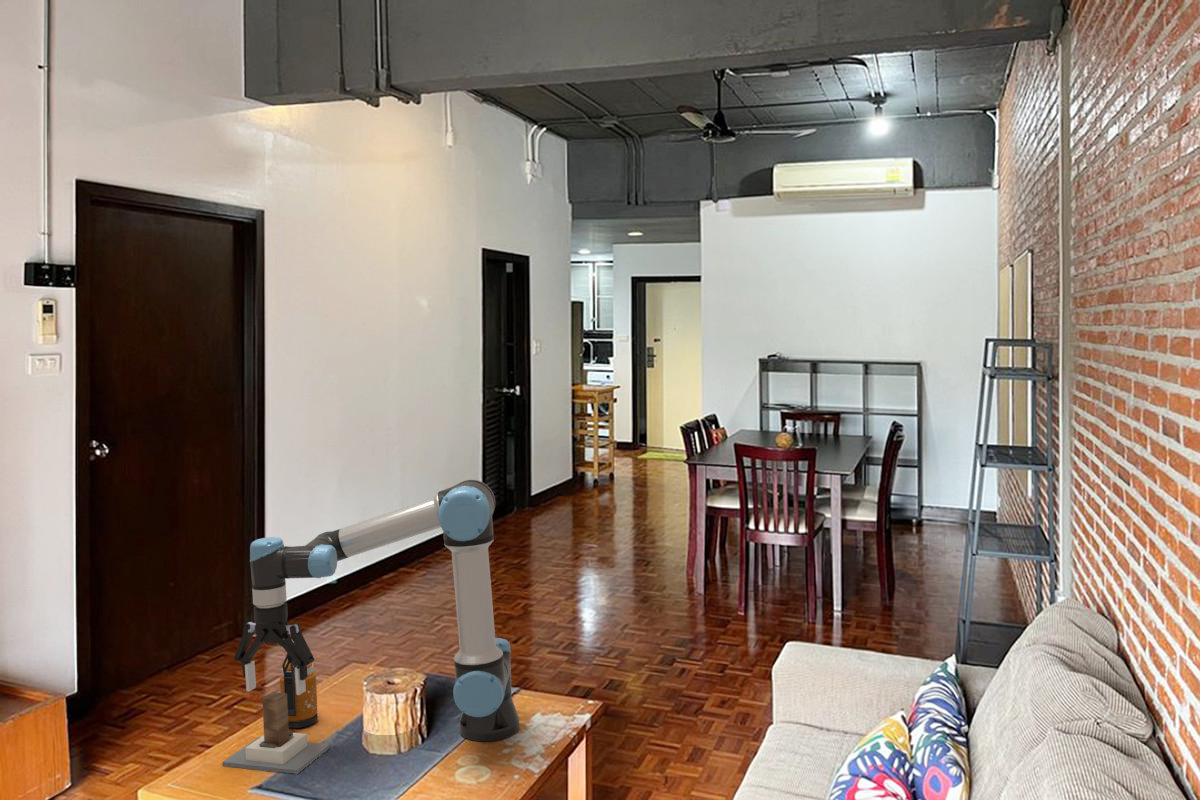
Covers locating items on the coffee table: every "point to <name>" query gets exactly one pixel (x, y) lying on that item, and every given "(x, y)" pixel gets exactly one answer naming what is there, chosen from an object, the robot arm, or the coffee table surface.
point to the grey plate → (277, 755)
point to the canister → (302, 705)
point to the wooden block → (275, 719)
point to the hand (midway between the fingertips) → (276, 691)
